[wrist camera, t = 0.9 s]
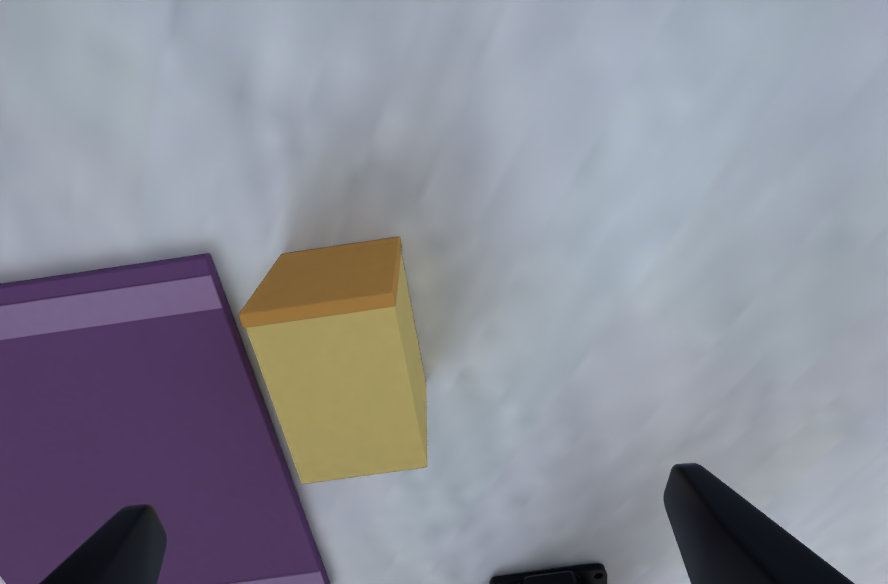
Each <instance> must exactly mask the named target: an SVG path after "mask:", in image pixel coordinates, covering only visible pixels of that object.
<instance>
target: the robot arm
mask: <svg viewBox="0 0 888 584" xmlns="http://www.w3.org/2000/svg"><path fill="white" fill-rule="evenodd" d="M664 505H665V509H666V512H667V515H668V518H669V520H670V523H671V526H672V529H673V532H674V535H675V538H676V541H677V544H678V547H679V549H680V552H681V555H682V558H683V561H684V564H685V567H686V570H687V573H688V576H689V579H690V581H691V584H854V583H853V582H852V581H850V580H849V579H848V578H847V577H845V576H844V575H843V574H841V573H840V572H839V571H837V570H836V569H835V568H834V567H832V566H831V565H830V564H828V563H827V562H826V561H824V560H823V559H822V558H821V557H819V556H818V555H817V554H815V553H814V552H813V551H812V550H810V549H809V548H808V547H806V546H805V545H804V544H802V543H801V542H800V541H799V540H797V539H796V538H795V537H793V536H792V535H791V534H789V533H788V532H787V531H786V530H784V529H783V528H782V527H780V526H779V525H778V524H777V523H775V522H774V521H773V520H771V519H770V518H769V517H767V516H766V515H765V514H764V513H762V512H761V511H760V510H758V509H757V508H756V507H754V506H753V505H752V504H751V503H749V502H748V501H747V500H745V499H744V498H743V497H742V496H740V495H739V494H738V493H736V492H735V491H734V490H732V489H731V488H730V487H729V486H727V485H726V484H725V483H723V482H722V481H721V480H719V479H718V478H717V477H716V476H714V475H713V474H712V473H710V472H709V471H708V470H706V469H705V468H704V467H702V466H701V465H699V464H696V463H686V464H676V465H674V466H673V467H672V469H671V472H670V475H669V479H668V482H667V485H666V488H665V491H664ZM166 547H167V534H166V531H165V529H164V527H163V525H162V523H161V521H160V519H159V517H158V515H157V513H156V511H155V509H154V507H153V506H151V505H150V504H141V505H129V506H126V507H123V508H122V509H120V510H119V511H118V512H117V513H116V514H114V515H113V516H112V517H111V518H110V519H109V520H108V521H107V522H106V523H105V524H104V525H102V526H101V527H100V528H99V529H98V530H97V531H96V532H95V533H94V534H93V535H91V536H90V537H89V538H88V539H87V540H86V541H85V542H84V543H83V544H82V545H81V546H79V547H78V548H77V549H76V550H75V551H74V552H73V553H72V554H71V555H70V556H68V557H67V558H66V559H65V560H64V561H63V562H62V563H61V564H60V565H59V566H57V567H56V568H55V569H54V570H53V571H52V572H51V573H50V574H49V575H48V576H47V577H45V578H44V579H43V580H42V581H41V582H40V583H39V584H157V583H158V579H159V575H160V571H161V567H162V563H163V559H164V556H165V552H166ZM489 584H607V573H606V570H605V567H604V565H602V564H600V563H595V564H587V565H580V566H572V567H564V568H557V569H549V570H542V571H534V572H527V573H519V574H511V575H504V576H497V577H494V578H492V579H491V580H490V582H489Z"/></svg>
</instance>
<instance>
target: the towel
mask: <svg viewBox="0 0 888 584" xmlns="http://www.w3.org/2000/svg"><path fill="white" fill-rule="evenodd" d="M141 504H150V505H151V506H153V507H154V509H155V511H156V513H157V515H158V517H159V519H160V521H161V523H162V525H163V527H164V529H165V531H166V534H167V547H166V552H165V556H164V559H163V563H162V567H161V571H160V575H159V579H158V583H157V584H330V583H329V580H328V577H327V574H326V572H325V569H324V566H323V563H322V561H321V558H320V555H319V552H318V550H317V547H316V544H315V541H314V539H313V536H312V533H311V530H310V528H309V525H308V522H307V519H306V517H305V514H304V511H303V508H302V506H301V503H300V500H299V497H298V495H297V492H296V489H295V486H294V483H293V481H292V478H291V475H290V472H289V470H288V467H287V464H286V461H285V459H284V456H283V453H282V450H281V448H280V445H279V442H278V439H277V437H276V434H275V431H274V428H273V426H272V423H271V420H270V417H269V415H268V412H267V409H266V406H265V404H264V401H263V398H262V395H261V393H260V390H259V387H258V384H257V382H256V379H255V376H254V373H253V370H252V368H251V365H250V362H249V359H248V357H247V354H246V351H245V348H244V346H243V343H242V340H241V337H240V335H239V332H238V329H237V326H236V324H235V321H234V318H233V315H232V313H231V310H230V307H229V304H228V302H227V299H226V296H225V293H224V291H223V288H222V285H221V282H220V280H219V277H218V274H217V271H216V268H215V266H214V263H213V260H212V257H211V255H210V254H201V255H194V256H188V257H181V258H174V259H167V260H160V261H154V262H147V263H140V264H133V265H126V266H120V267H113V268H106V269H99V270H92V271H86V272H79V273H72V274H65V275H58V276H52V277H45V278H38V279H31V280H24V281H18V282H11V283H4V284H0V576H1V578H2V579H3V580H4V581H5V583H6V584H39V583H40V582H41V581H42V580H43V579H44V578H45V577H47V576H48V575H49V574H50V573H51V572H52V571H53V570H54V569H55V568H56V567H57V566H59V565H60V564H61V563H62V562H63V561H64V560H65V559H66V558H67V557H68V556H70V555H71V554H72V553H73V552H74V551H75V550H76V549H77V548H78V547H79V546H81V545H82V544H83V543H84V542H85V541H86V540H87V539H88V538H89V537H90V536H91V535H93V534H94V533H95V532H96V531H97V530H98V529H99V528H100V527H101V526H102V525H104V524H105V523H106V522H107V521H108V520H109V519H110V518H111V517H112V516H113V515H114V514H116V513H117V512H118V511H119V510H120V509H122V508H123V507H126V506H129V505H141Z"/></svg>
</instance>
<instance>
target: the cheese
mask: <svg viewBox="0 0 888 584" xmlns="http://www.w3.org/2000/svg"><path fill="white" fill-rule="evenodd" d="M401 250H402V245H401V240H400V237H394V238H387V239H380V240H373V241H366V242H359V243H353V244H346V245H339V246H332V247H325V248H319V249H312V250H305V251H298V252H291V253H284V254H281V255H280V257H279V258H278V260H277V261H276V262H275V264H274V265H273V267H272V268H271V269H270V271H269V272H268V274H267V275H266V276H265V278H264V279H263V281H262V282H261V284H260V285H259V286H258V288H257V289H256V291H255V292H254V293H253V295H252V296H251V298H250V299H249V300H248V302H247V303H246V305H245V306H244V307H243V309H242V310H241V312H240V313H239V318H240V321H241V324H242V327H243V328H246V330H247V333H248V336H249V339H250V341H251V344H252V347H253V350H254V353H255V355H256V358H257V361H258V364H259V366H260V369H261V372H262V375H263V378H264V380H265V383H266V386H267V389H268V392H269V394H270V397H271V400H272V403H273V406H274V408H275V411H276V414H277V417H278V419H279V422H280V425H281V428H282V431H283V433H284V436H285V439H286V442H287V445H288V447H289V450H290V453H291V456H292V458H293V461H294V464H295V467H296V470H297V472H298V475H299V478H300V481H301V483H302V484H307V483H315V482H322V481H329V480H337V479H344V478H351V477H359V476H366V475H373V474H381V473H388V472H395V471H402V470H410V469H417V468H424V467H427V406H426V381H425V375H424V370H423V365H422V360H421V354H420V349H419V344H418V338H417V333H416V328H415V322H414V317H413V312H412V306H411V301H410V296H409V290H408V285H407V280H406V274H405V269H404V264H403V259H402V253H401Z"/></svg>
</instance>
